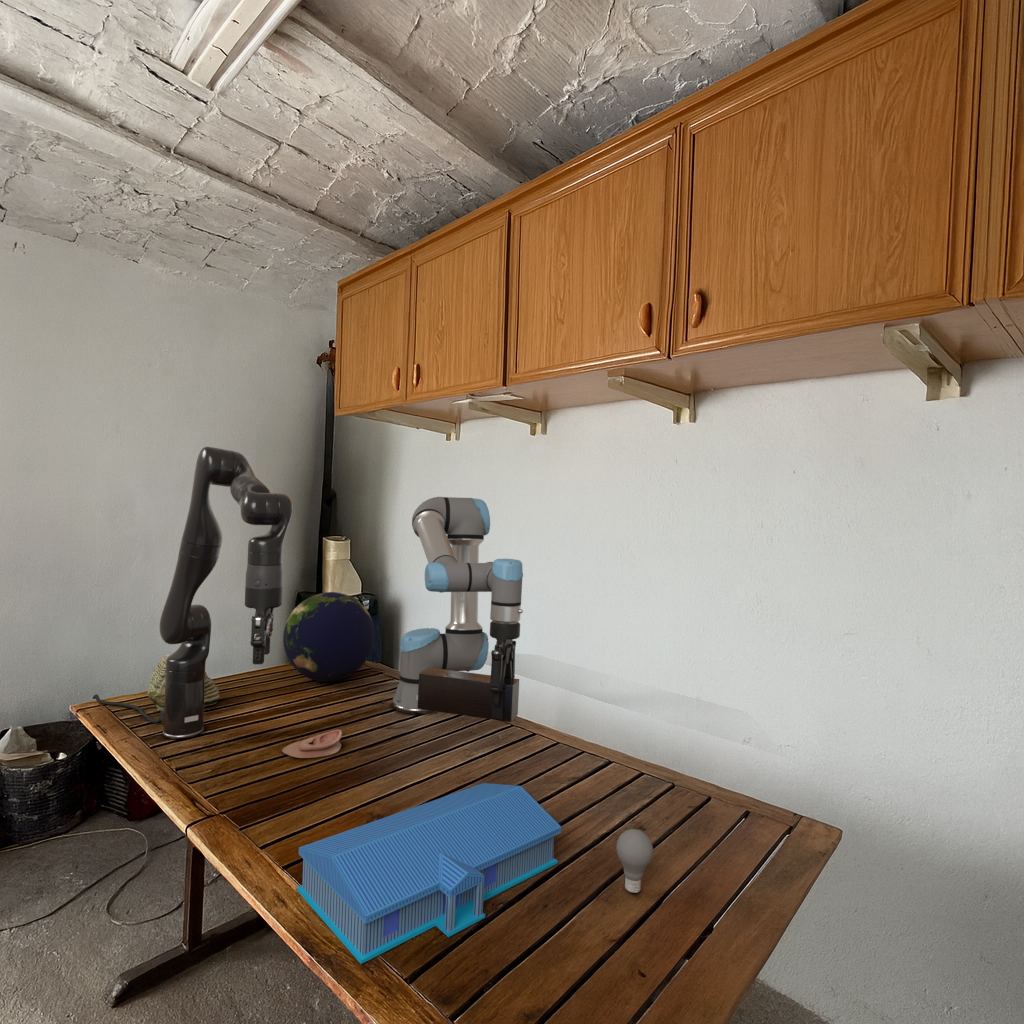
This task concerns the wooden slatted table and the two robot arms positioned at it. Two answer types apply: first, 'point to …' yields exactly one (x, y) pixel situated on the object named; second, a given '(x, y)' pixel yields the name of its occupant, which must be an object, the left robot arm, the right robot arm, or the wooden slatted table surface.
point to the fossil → (158, 687)
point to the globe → (328, 636)
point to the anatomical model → (315, 745)
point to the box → (464, 694)
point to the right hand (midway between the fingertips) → (501, 713)
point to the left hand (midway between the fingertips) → (261, 658)
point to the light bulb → (634, 857)
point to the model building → (426, 866)
